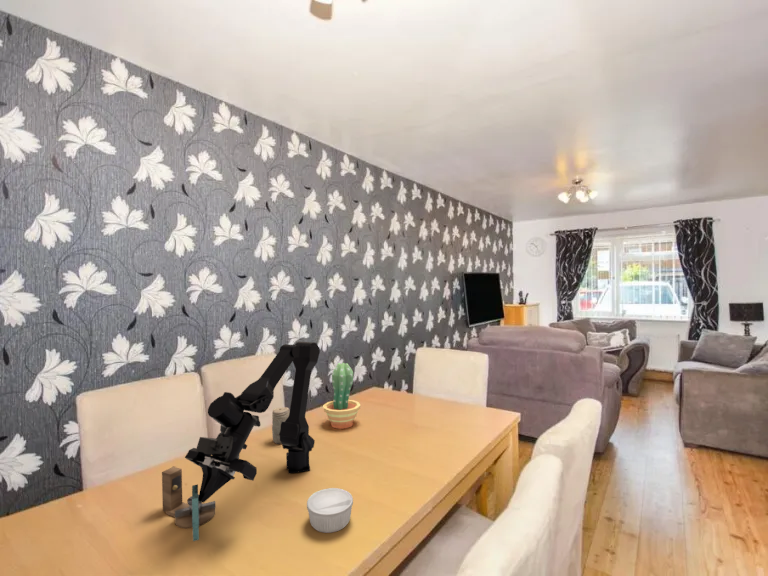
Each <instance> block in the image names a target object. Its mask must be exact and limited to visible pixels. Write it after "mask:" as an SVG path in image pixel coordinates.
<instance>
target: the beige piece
mask: <svg viewBox="0 0 768 576" xmlns="http://www.w3.org/2000/svg"><path fill="white" fill-rule="evenodd" d="M289 412H290V407H287V406H286V407H284V406H281V407H276V408H274V409H273V410H272V413H271V414H272V417H271V418H272V419H271V420H272V422H271V423H272V424H271V430H272V431H271V433H272V435H271V436H272V442H273V443H275V444H280V445H282V443H281V441H280V436H279V433H280V429H281V423H282V422H285V421H286V419H287V418H288V417H289Z"/></svg>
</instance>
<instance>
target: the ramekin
mask: <svg viewBox="0 0 768 576" xmlns="http://www.w3.org/2000/svg"><path fill="white" fill-rule="evenodd" d="M353 504H354V498H353V496H352V494H351V493H350V492H349V490H348V491H347V490H345V489H342V488H339V487H338V488H337V487H329V488H324V489H323V488H322V489H321V490H318V491H315V492H314V493H312V494H311V495H310V496H309V497H308V499H307V500H306V509H307V512H308V518H309V523H310V525H311V527H312V528H313V529H314V530H316V531H317V532H319V533H327V534H328V533H336V532H338V531H341V530H343V529H344V528H345V527H347V525H348V523H350V520H351V515H352V509H353V508H352V507H353Z"/></svg>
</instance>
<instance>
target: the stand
mask: <svg viewBox="0 0 768 576" xmlns="http://www.w3.org/2000/svg"><path fill="white" fill-rule="evenodd" d="M161 482H162V483H161V486H162V493H161V494H162V495H161V498H162V511H163V512H165V514H166V515H168V516H171V517H174V519H175V520H174V523H175V525H176V526H177V527H178V528H180V529H193V526H192V515H190V514H189V515H185V516H181V517H177V518H175V510H180V509H184V508H188V507H189V504H188V503H187V502H184V501H183V471H182V468H180V467H176V466H172V467H169V468H168V469H166V470H163V471H162V472H161ZM204 503H205V502H204ZM204 503H202V504H204ZM215 515H216V508H213V509H209V510H205V511H202V512H201V513H199V518H200V525H199V527H200V526H203V525H204V524H206V523H208V522H210V521H211V520H212V519H213V518H214V517H215Z"/></svg>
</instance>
